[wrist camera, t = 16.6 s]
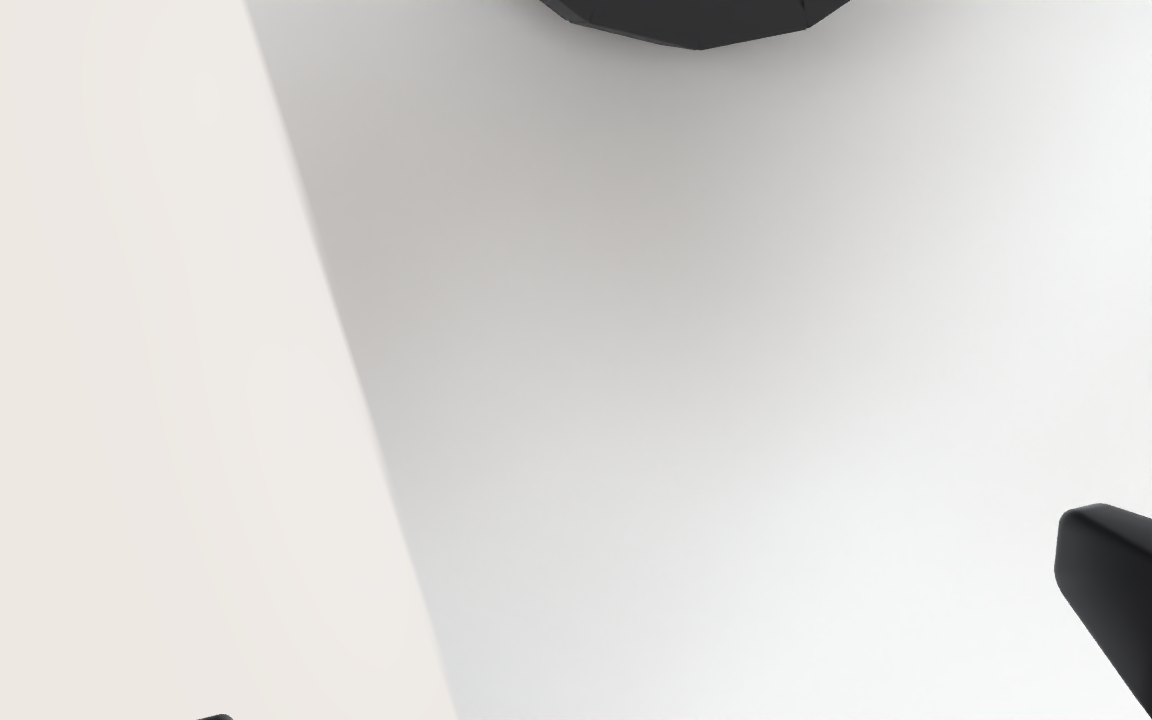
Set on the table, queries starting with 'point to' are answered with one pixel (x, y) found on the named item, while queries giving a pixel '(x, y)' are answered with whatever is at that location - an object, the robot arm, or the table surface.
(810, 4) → the socket pad
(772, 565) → the table surface
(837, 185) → the table surface
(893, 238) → the table surface
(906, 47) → the table surface
